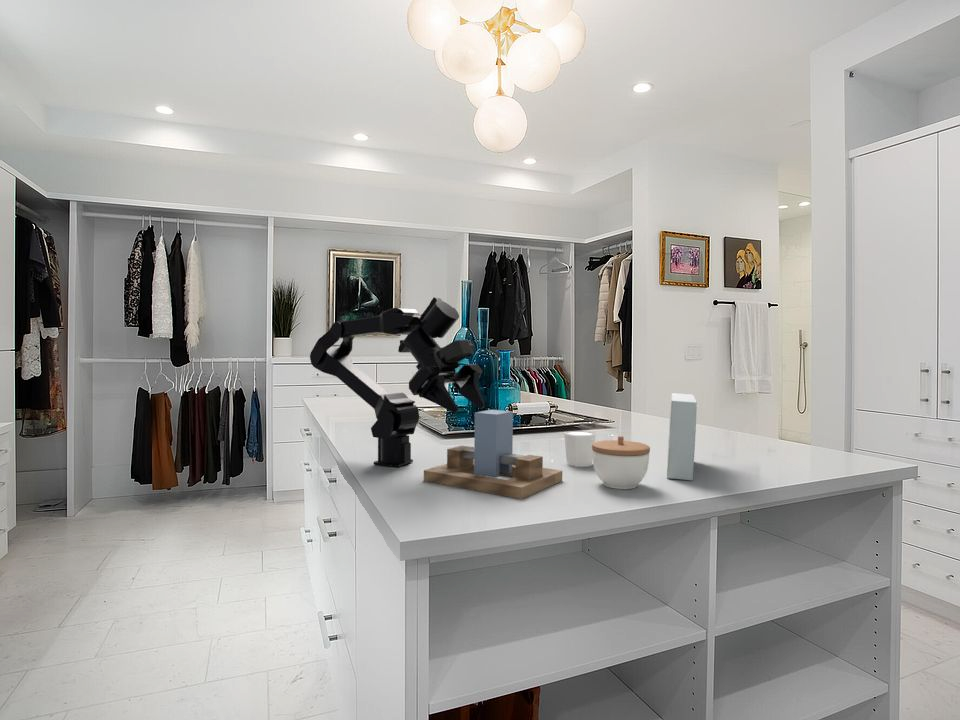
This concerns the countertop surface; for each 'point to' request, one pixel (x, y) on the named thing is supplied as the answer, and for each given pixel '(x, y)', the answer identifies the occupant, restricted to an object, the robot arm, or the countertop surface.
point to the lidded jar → (620, 462)
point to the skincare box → (681, 437)
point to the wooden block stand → (523, 483)
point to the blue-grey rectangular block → (492, 442)
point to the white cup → (579, 448)
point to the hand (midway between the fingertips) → (470, 409)
